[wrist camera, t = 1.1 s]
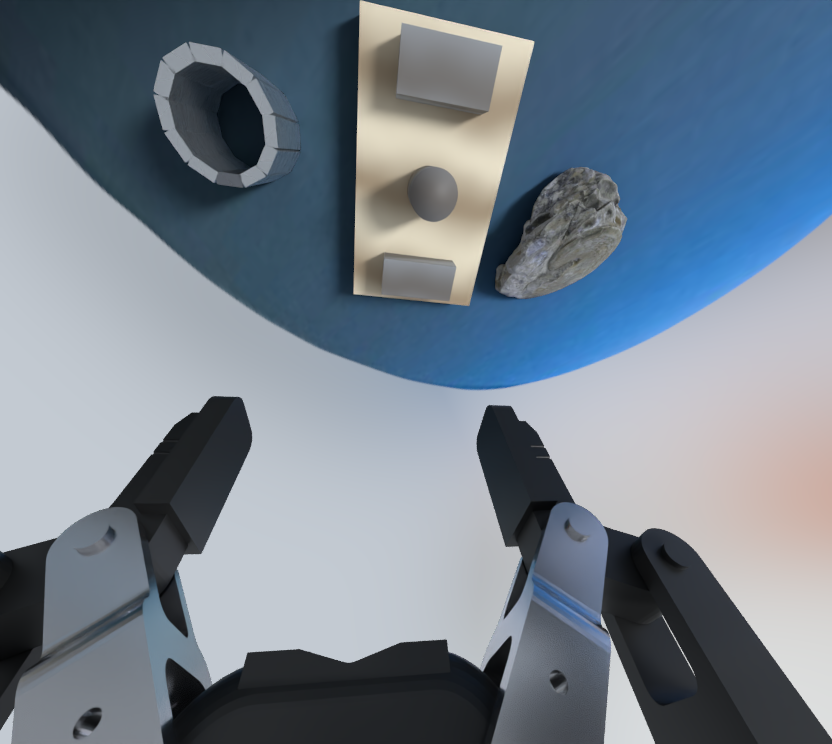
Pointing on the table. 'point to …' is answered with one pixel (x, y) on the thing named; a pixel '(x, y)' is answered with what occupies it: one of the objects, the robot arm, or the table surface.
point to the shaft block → (429, 150)
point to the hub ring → (198, 119)
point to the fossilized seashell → (564, 235)
